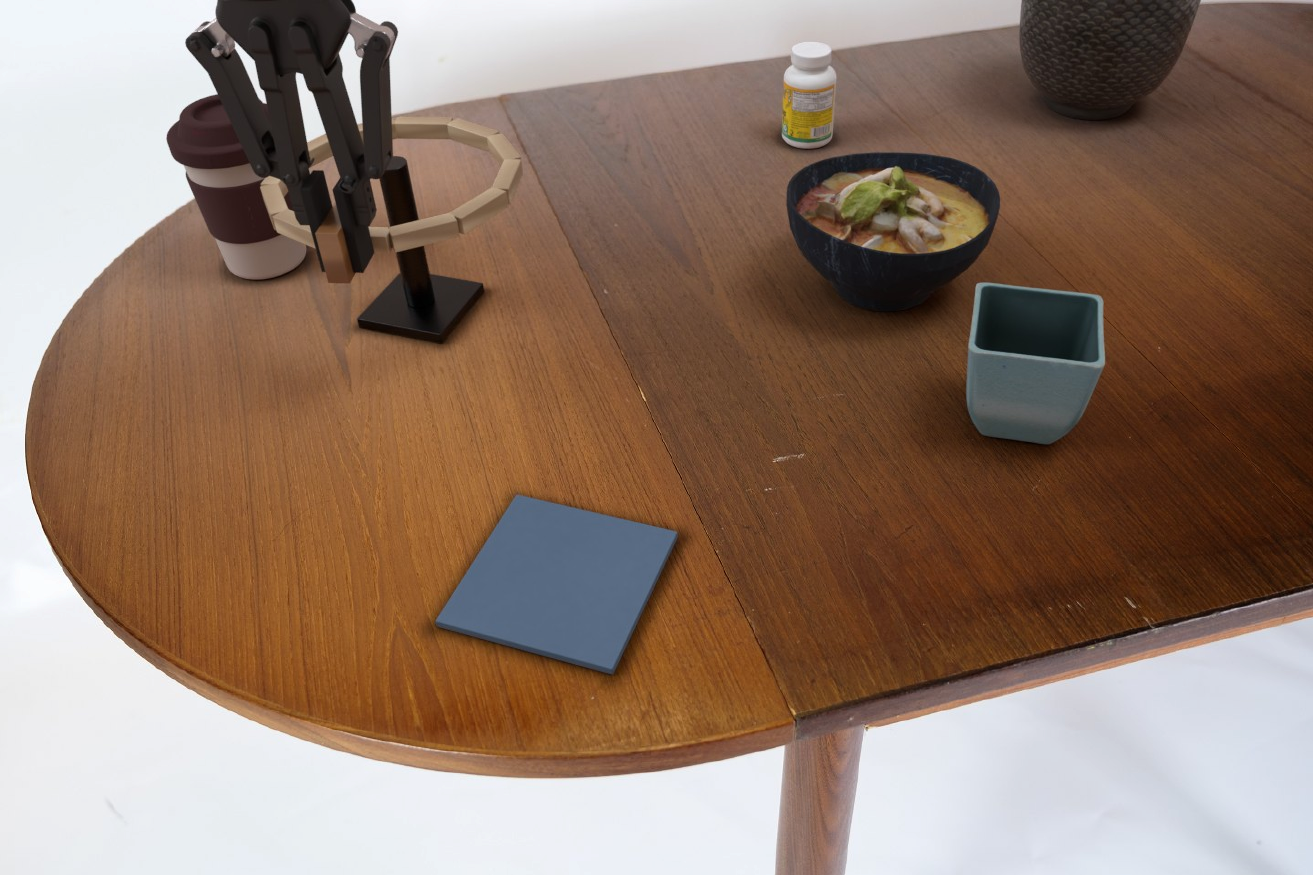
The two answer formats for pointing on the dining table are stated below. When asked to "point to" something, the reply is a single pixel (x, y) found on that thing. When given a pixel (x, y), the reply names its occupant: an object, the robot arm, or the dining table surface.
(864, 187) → the bowl
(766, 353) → the dining table surface
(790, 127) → the supplement bottle
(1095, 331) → the flower pot
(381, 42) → the robot arm
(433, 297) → the post on square base
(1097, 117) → the planter
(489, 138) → the segmented ring with tab
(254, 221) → the coffee cup
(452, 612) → the mat
